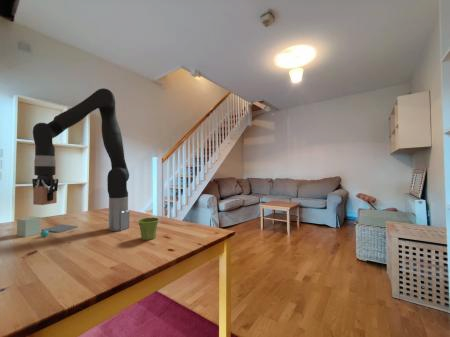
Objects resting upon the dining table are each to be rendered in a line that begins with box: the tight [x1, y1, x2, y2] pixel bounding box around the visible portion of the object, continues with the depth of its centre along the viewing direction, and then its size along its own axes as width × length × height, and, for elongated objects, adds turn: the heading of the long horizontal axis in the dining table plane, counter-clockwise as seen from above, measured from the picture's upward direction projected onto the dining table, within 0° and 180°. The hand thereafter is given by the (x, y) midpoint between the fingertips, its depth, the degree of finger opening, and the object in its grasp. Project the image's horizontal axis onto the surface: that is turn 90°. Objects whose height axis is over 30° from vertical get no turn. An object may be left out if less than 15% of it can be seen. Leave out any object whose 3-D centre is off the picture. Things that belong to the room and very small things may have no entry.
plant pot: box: [137, 216, 160, 241], centre depth 94 cm, size 9×9×9 cm
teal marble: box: [40, 230, 50, 238], centre depth 95 cm, size 3×3×3 cm
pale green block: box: [16, 216, 41, 238], centre depth 98 cm, size 6×6×8 cm
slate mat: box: [40, 224, 78, 234], centre depth 107 cm, size 12×10×1 cm
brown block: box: [32, 186, 58, 206], centre depth 95 cm, size 6×6×8 cm
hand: (45, 200), depth 95 cm, fingers closed on brown block, 6 cm apart
